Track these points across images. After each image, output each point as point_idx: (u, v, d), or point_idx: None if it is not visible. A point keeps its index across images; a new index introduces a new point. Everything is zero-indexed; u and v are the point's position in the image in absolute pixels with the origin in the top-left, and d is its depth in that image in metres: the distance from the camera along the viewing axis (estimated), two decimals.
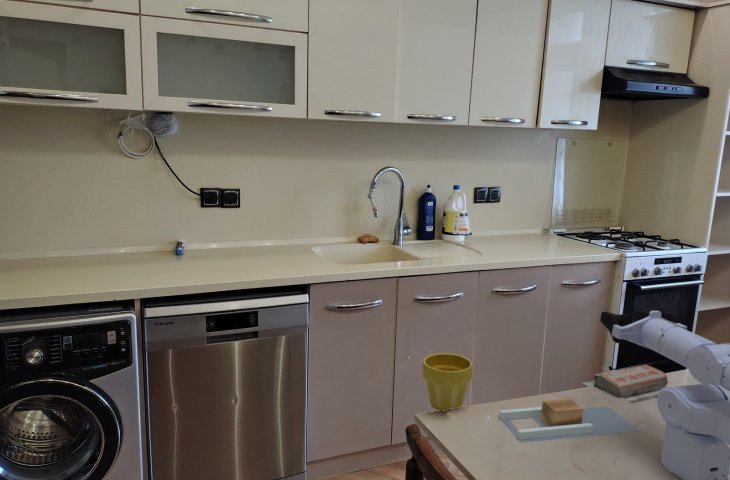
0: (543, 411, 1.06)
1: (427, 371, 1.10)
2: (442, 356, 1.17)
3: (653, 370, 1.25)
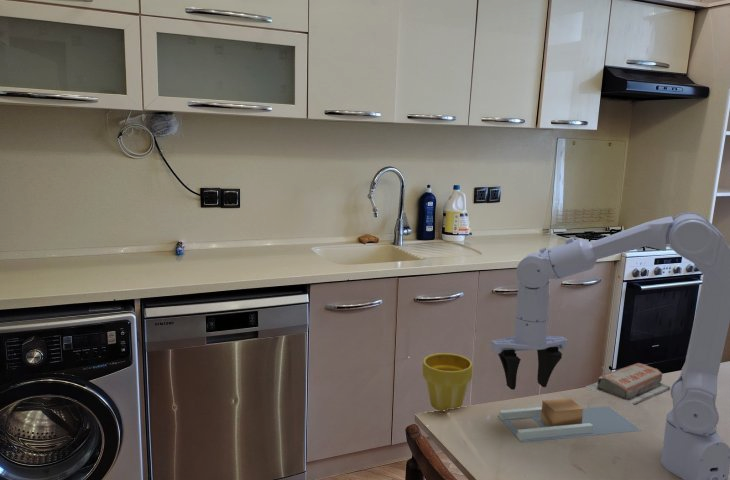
0: (543, 411, 1.06)
1: (427, 371, 1.10)
2: (442, 356, 1.17)
3: (647, 367, 1.26)
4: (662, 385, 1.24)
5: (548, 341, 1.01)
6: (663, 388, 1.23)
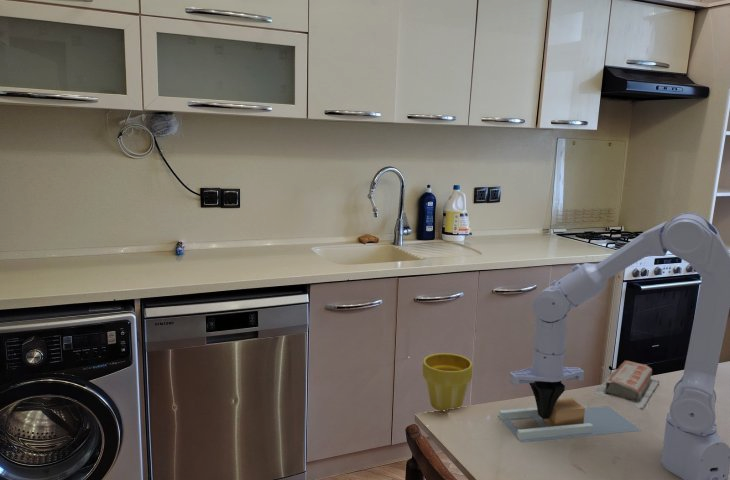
0: None
1: (427, 371, 1.10)
2: (442, 356, 1.17)
3: (638, 364, 1.27)
4: (652, 380, 1.27)
5: (565, 372, 1.03)
6: (655, 383, 1.25)
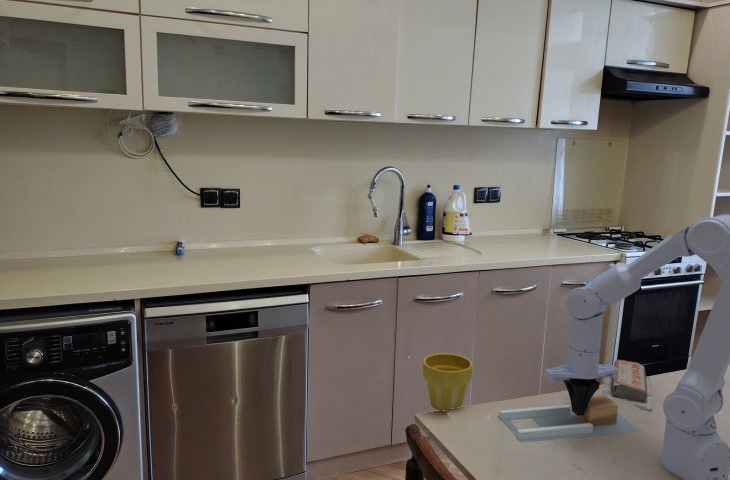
0: None
1: (427, 371, 1.10)
2: (442, 356, 1.17)
3: (630, 363, 1.28)
4: None
5: (599, 370, 1.05)
6: (648, 380, 1.27)
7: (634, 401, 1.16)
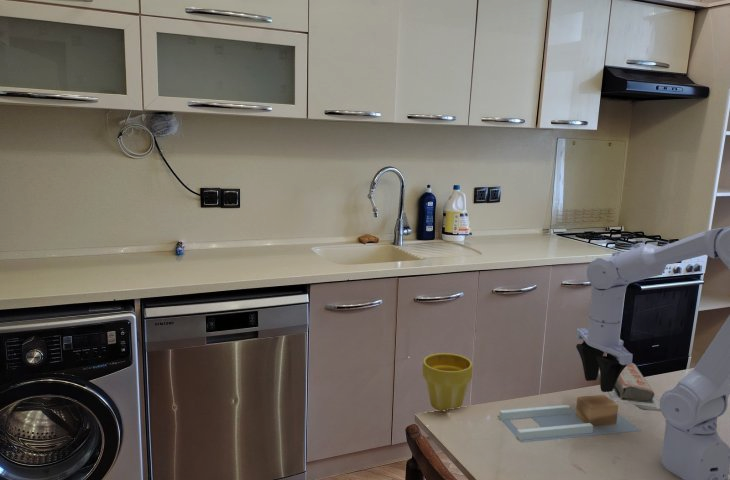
0: (578, 407, 1.08)
1: (427, 371, 1.10)
2: (442, 356, 1.17)
3: None
4: None
5: (613, 349, 1.01)
6: None
7: (642, 402, 1.16)
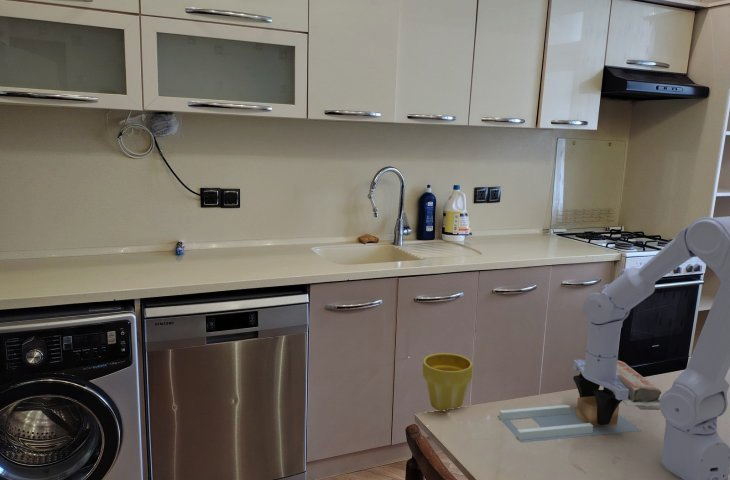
0: (578, 408, 1.08)
1: (427, 371, 1.10)
2: (442, 356, 1.17)
3: None
4: None
5: (610, 383, 1.02)
6: None
7: (651, 402, 1.16)
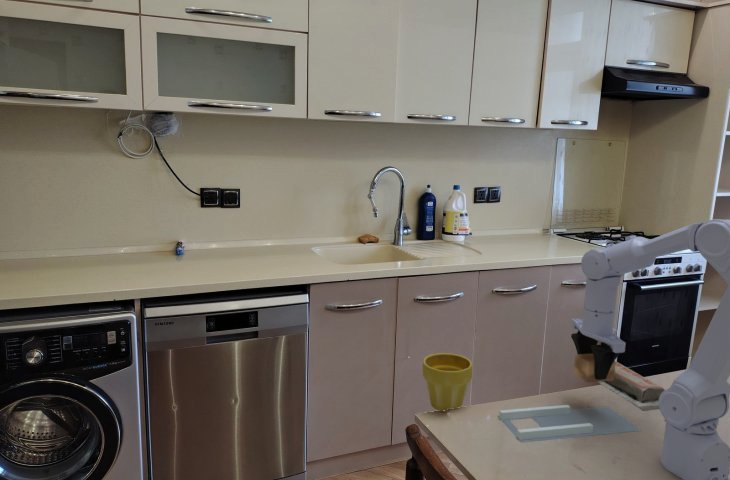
0: (576, 364, 1.10)
1: (427, 371, 1.10)
2: (442, 356, 1.17)
3: None
4: None
5: (607, 338, 1.04)
6: None
7: (656, 401, 1.16)
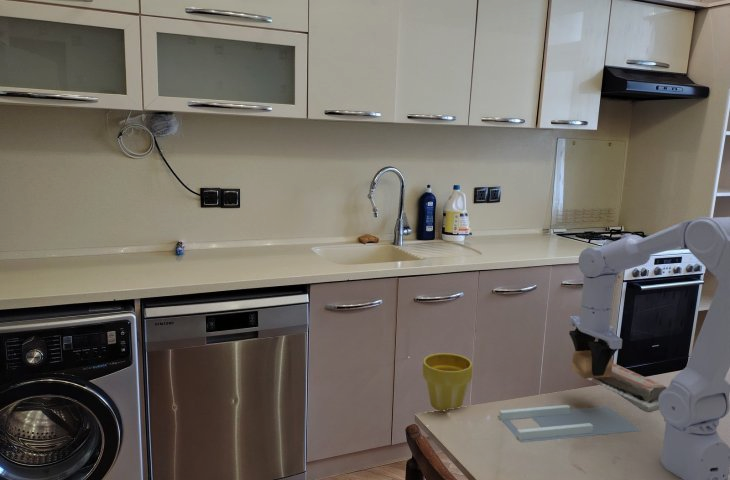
0: (574, 361, 1.11)
1: (427, 371, 1.10)
2: (442, 356, 1.17)
3: None
4: None
5: (604, 335, 1.06)
6: None
7: None
